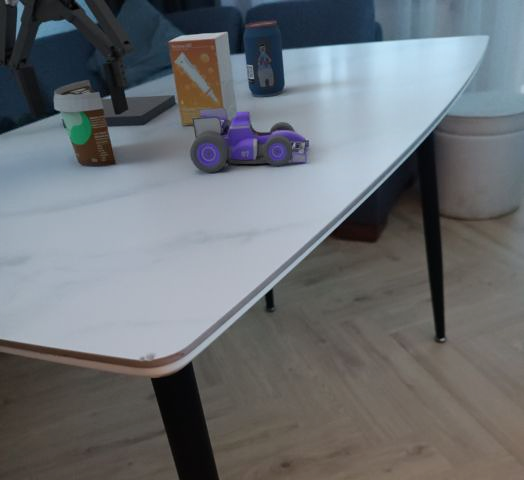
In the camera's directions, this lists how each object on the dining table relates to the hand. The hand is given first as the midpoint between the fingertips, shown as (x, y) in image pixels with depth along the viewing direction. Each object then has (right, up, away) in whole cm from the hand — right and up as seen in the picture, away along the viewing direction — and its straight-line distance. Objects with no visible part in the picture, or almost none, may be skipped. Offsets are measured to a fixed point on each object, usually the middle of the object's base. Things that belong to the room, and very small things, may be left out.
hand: (80, 114), depth 86 cm
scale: (0, +10, +26) cm, 28 cm away
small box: (+17, +5, +16) cm, 24 cm away
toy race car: (+25, -8, -4) cm, 27 cm away
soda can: (+27, +16, +29) cm, 43 cm away
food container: (+1, -5, +4) cm, 7 cm away
